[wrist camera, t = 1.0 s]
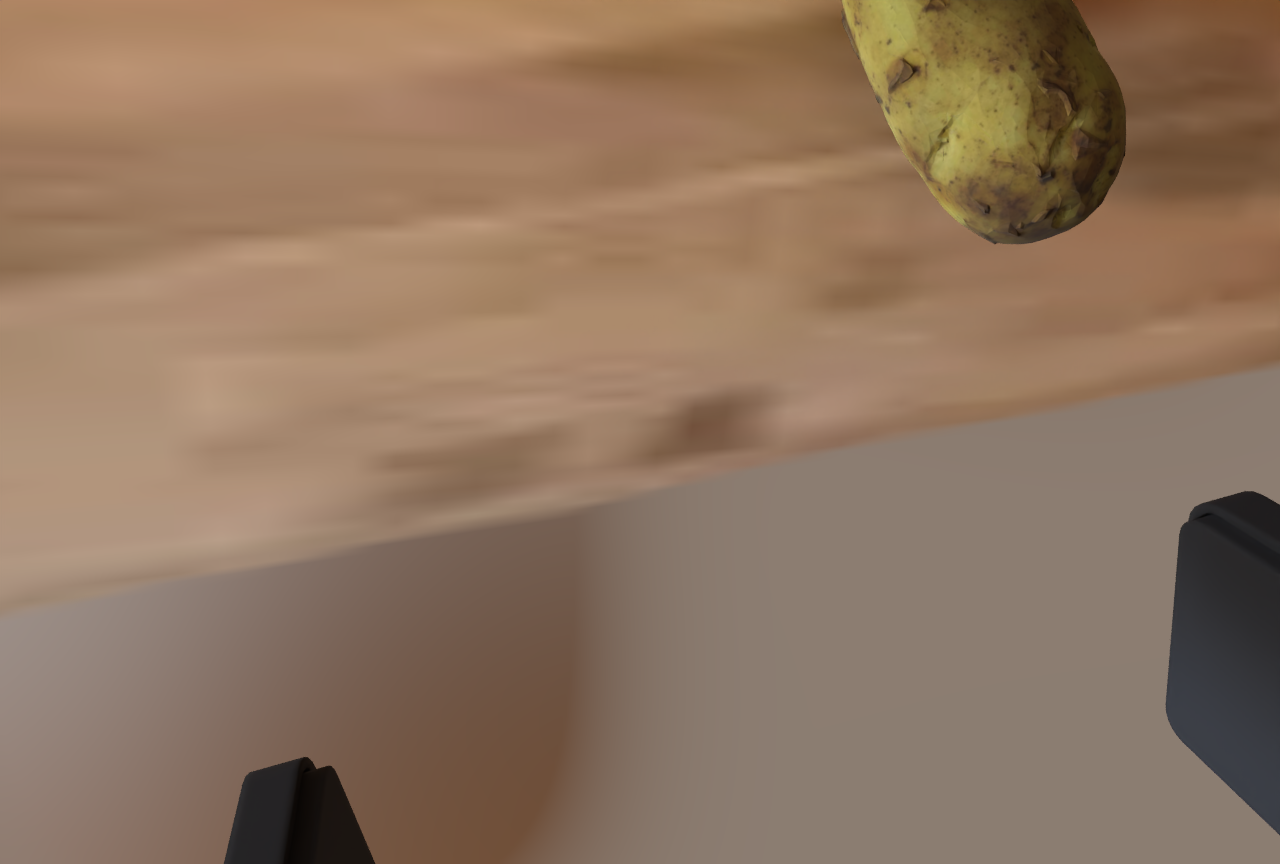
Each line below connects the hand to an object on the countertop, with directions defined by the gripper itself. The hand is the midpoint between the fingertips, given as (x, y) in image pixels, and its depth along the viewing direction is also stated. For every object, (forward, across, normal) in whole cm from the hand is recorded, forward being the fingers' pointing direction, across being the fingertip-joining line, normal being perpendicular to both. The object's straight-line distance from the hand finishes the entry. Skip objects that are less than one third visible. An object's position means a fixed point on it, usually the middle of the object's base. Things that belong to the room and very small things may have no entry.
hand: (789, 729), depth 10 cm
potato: (+27, -15, -4) cm, 31 cm away
